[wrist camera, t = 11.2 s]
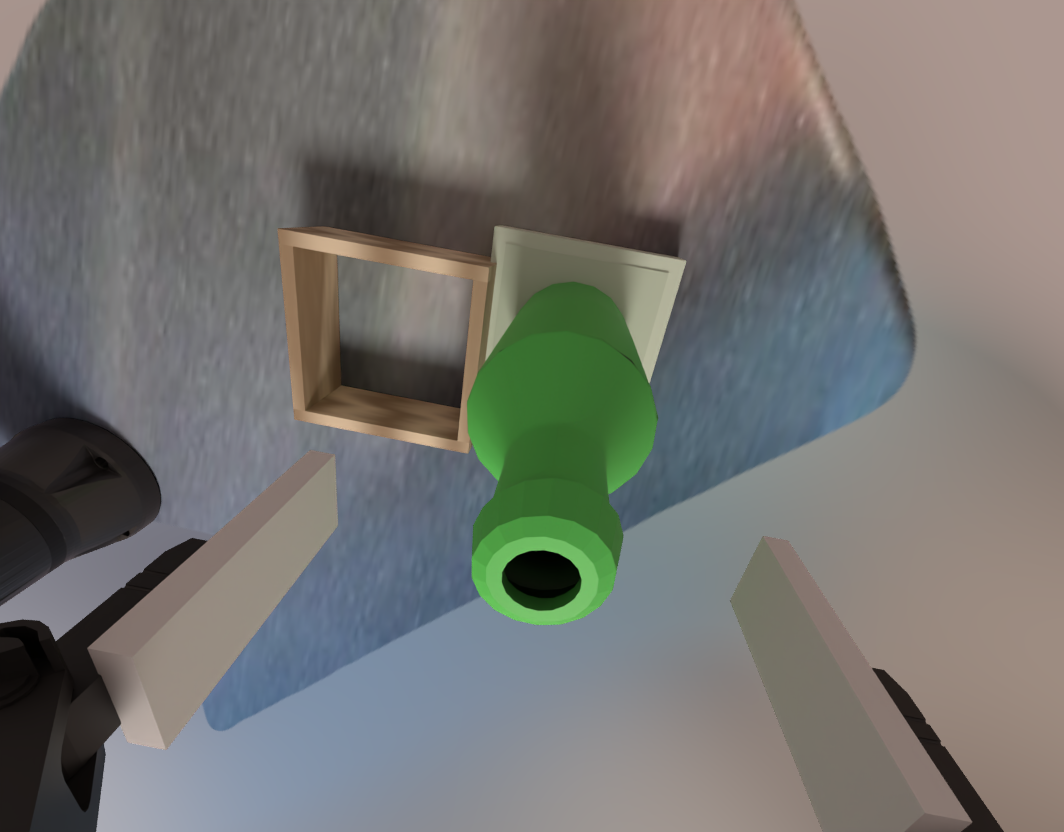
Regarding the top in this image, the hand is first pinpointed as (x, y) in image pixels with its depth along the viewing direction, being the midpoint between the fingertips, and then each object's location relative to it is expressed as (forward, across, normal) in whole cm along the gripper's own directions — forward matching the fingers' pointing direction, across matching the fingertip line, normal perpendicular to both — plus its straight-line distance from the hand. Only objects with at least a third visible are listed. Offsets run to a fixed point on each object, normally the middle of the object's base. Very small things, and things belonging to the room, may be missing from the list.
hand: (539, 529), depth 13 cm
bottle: (+23, +1, 0) cm, 23 cm away
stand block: (+26, +1, 0) cm, 26 cm away
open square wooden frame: (+26, -13, -3) cm, 30 cm away
